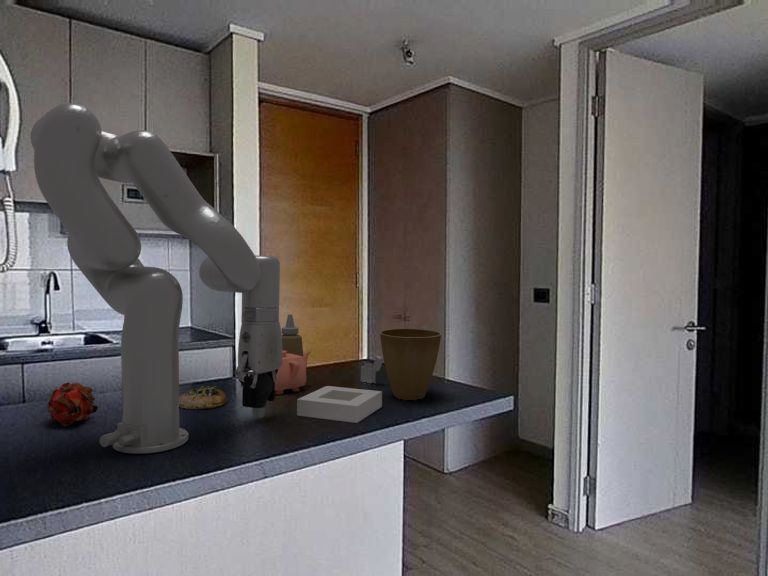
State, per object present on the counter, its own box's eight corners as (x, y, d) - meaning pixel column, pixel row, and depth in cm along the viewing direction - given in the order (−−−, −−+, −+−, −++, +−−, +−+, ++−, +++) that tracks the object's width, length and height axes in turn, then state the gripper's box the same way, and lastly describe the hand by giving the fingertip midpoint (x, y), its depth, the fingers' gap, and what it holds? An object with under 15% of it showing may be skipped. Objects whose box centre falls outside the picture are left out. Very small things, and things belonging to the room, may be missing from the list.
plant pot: (366, 396, 138) (367, 331, 137) (408, 387, 148) (409, 326, 147) (410, 408, 127) (411, 338, 126) (452, 398, 137) (454, 332, 137)
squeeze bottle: (273, 377, 159) (273, 313, 158) (302, 375, 162) (302, 313, 161) (276, 383, 151) (277, 316, 151) (306, 381, 154) (307, 315, 153)
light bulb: (275, 416, 119) (276, 369, 118) (267, 424, 113) (268, 374, 113) (249, 415, 119) (250, 368, 119) (240, 422, 114) (241, 373, 113)
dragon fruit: (73, 420, 120) (79, 444, 110) (35, 402, 115) (37, 425, 106) (99, 387, 122) (107, 408, 112) (63, 368, 117) (68, 387, 107)
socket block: (357, 423, 115) (357, 406, 115) (297, 415, 120) (297, 399, 120) (381, 406, 129) (382, 391, 128) (326, 400, 134) (326, 385, 133)
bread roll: (217, 395, 137) (217, 375, 136) (234, 411, 128) (234, 391, 127) (170, 403, 131) (170, 383, 130) (184, 421, 122) (184, 399, 121)
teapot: (296, 398, 135) (296, 356, 135) (249, 395, 137) (249, 354, 137) (312, 385, 150) (312, 347, 149) (269, 383, 151) (269, 345, 151)
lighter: (360, 382, 154) (360, 353, 153) (364, 381, 155) (365, 352, 155) (379, 386, 149) (380, 356, 149) (384, 385, 150) (384, 355, 150)
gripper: (251, 320, 106) (250, 415, 107) (297, 314, 122) (295, 396, 123) (218, 318, 109) (217, 410, 109) (267, 312, 125) (266, 393, 125)
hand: (258, 402), depth 116 cm, fingers closed on light bulb, 5 cm apart
